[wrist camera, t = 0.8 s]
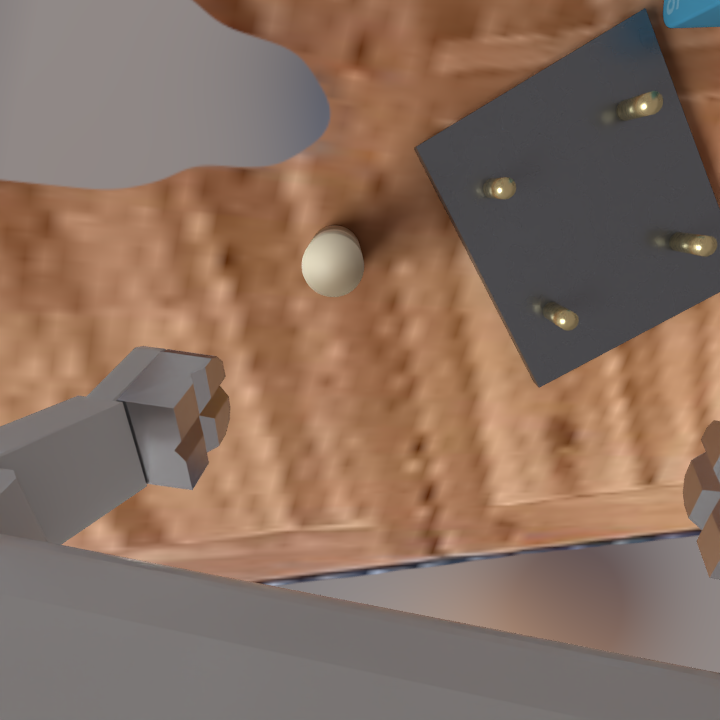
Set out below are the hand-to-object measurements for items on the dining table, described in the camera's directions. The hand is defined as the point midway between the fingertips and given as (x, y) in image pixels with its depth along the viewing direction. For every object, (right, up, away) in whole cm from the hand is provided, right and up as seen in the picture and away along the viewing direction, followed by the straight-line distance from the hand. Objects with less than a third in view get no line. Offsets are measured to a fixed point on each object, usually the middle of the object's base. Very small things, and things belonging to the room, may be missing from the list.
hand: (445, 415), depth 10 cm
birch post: (-4, +11, +40) cm, 41 cm away
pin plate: (+18, +14, +39) cm, 45 cm away
